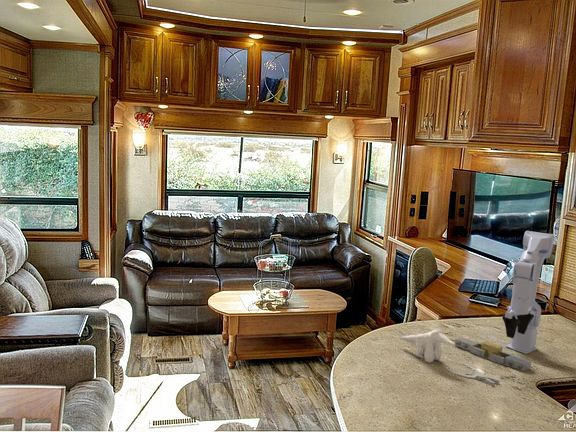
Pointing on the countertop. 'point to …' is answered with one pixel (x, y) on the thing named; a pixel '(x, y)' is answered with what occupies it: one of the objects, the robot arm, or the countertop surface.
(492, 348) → the brushed brass bar
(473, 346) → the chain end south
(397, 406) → the countertop surface
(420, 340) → the dinosaur statue
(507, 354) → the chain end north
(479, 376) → the pliers
